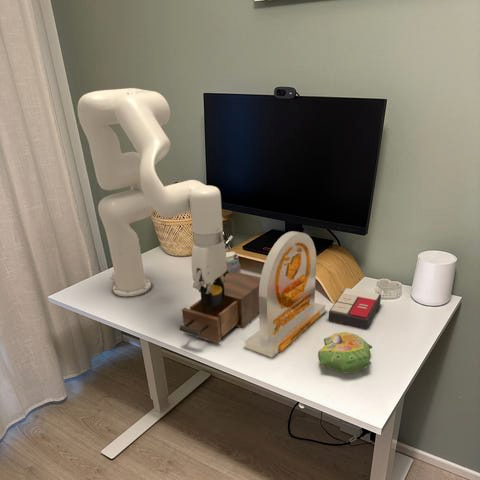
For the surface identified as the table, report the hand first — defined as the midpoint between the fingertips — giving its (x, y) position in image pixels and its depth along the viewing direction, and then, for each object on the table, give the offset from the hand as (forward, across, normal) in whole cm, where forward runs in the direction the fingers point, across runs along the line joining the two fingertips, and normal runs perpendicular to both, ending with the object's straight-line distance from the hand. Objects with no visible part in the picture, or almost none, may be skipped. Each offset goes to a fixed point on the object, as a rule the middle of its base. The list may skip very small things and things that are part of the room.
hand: (213, 300), depth 123 cm
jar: (+1, 0, 0) cm, 1 cm away
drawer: (+8, +3, 0) cm, 9 cm away
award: (+9, -9, +18) cm, 22 cm away
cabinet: (+9, -11, 0) cm, 15 cm away
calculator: (+9, -26, +31) cm, 42 cm away
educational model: (+9, -2, +37) cm, 38 cm away
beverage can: (+9, -24, -10) cm, 28 cm away
